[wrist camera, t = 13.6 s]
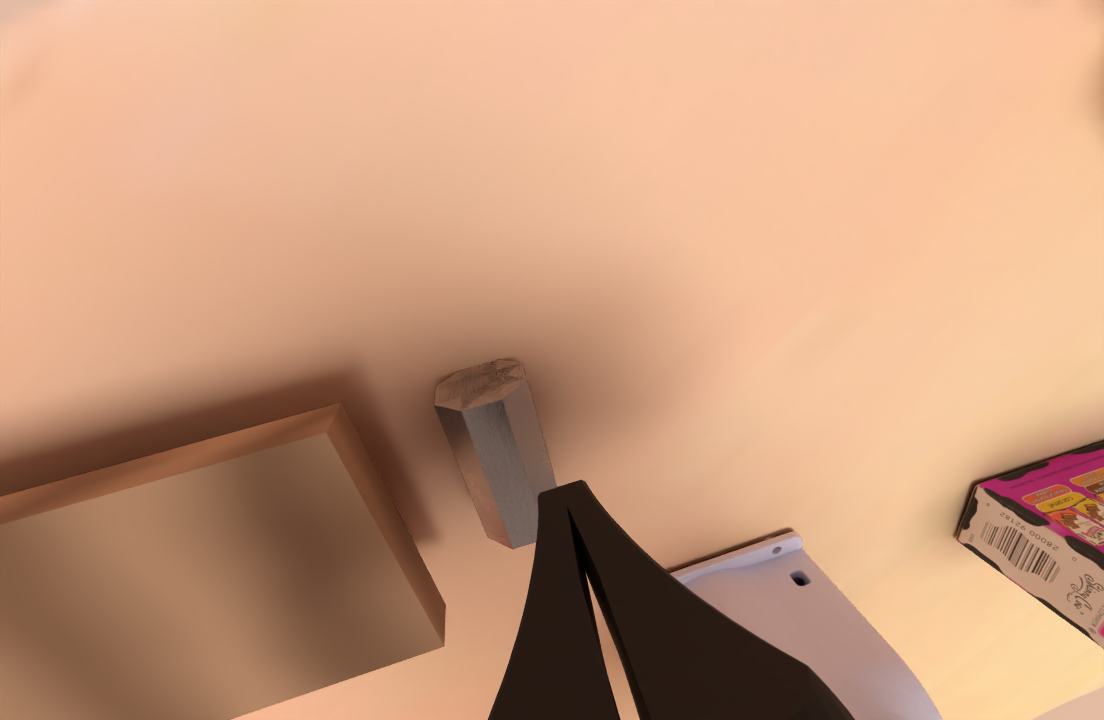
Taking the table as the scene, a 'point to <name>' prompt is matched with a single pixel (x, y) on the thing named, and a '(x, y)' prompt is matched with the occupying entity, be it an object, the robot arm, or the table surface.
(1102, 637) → the candy bar box
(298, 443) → the slab
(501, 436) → the roller
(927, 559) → the table surface
